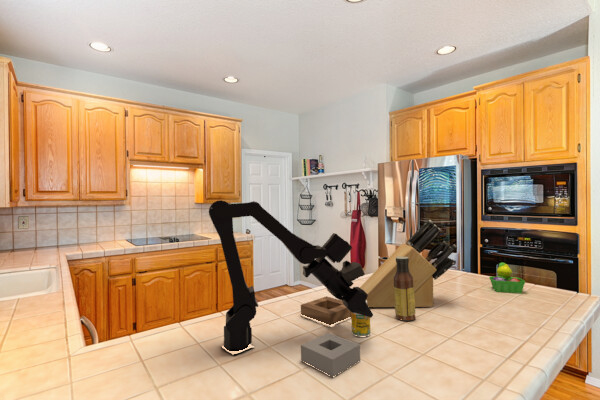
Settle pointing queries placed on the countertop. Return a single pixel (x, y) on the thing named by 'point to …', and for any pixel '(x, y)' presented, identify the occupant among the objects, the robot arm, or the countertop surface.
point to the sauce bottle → (404, 290)
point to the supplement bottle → (360, 324)
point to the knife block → (411, 269)
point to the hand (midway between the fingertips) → (365, 310)
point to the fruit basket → (506, 281)
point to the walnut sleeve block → (326, 310)
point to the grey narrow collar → (330, 353)
